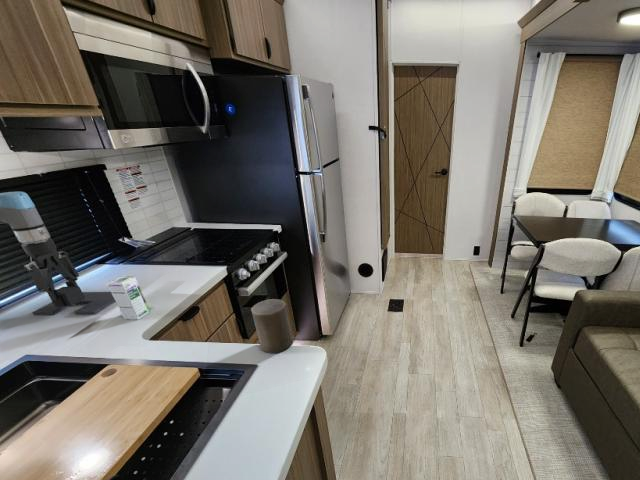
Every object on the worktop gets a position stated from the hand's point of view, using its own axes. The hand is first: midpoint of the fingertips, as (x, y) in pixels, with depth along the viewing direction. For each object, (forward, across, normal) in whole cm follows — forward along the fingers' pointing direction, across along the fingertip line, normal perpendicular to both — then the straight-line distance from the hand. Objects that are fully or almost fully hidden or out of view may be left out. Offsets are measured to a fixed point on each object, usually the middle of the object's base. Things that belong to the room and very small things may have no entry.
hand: (70, 301), depth 121 cm
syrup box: (+5, -3, -25) cm, 25 cm away
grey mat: (+5, +4, 0) cm, 6 cm away
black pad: (0, 0, 0) cm, 0 cm away
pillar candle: (+5, -22, -82) cm, 85 cm away
